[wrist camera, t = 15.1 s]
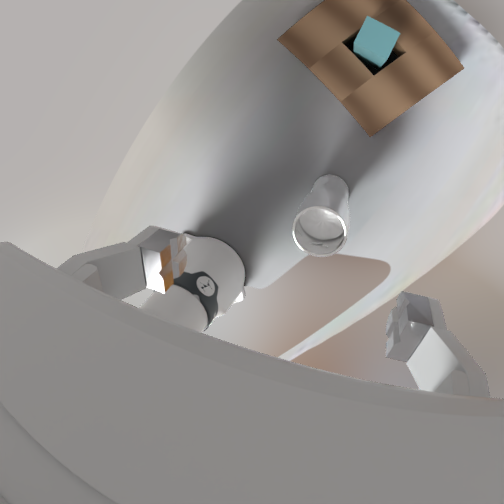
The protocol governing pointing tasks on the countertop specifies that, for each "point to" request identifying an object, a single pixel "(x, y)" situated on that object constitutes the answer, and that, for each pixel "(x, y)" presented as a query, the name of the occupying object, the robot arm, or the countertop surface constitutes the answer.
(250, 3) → the countertop surface
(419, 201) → the countertop surface
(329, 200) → the beer glass
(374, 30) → the peg
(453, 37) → the countertop surface
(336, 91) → the socket block
